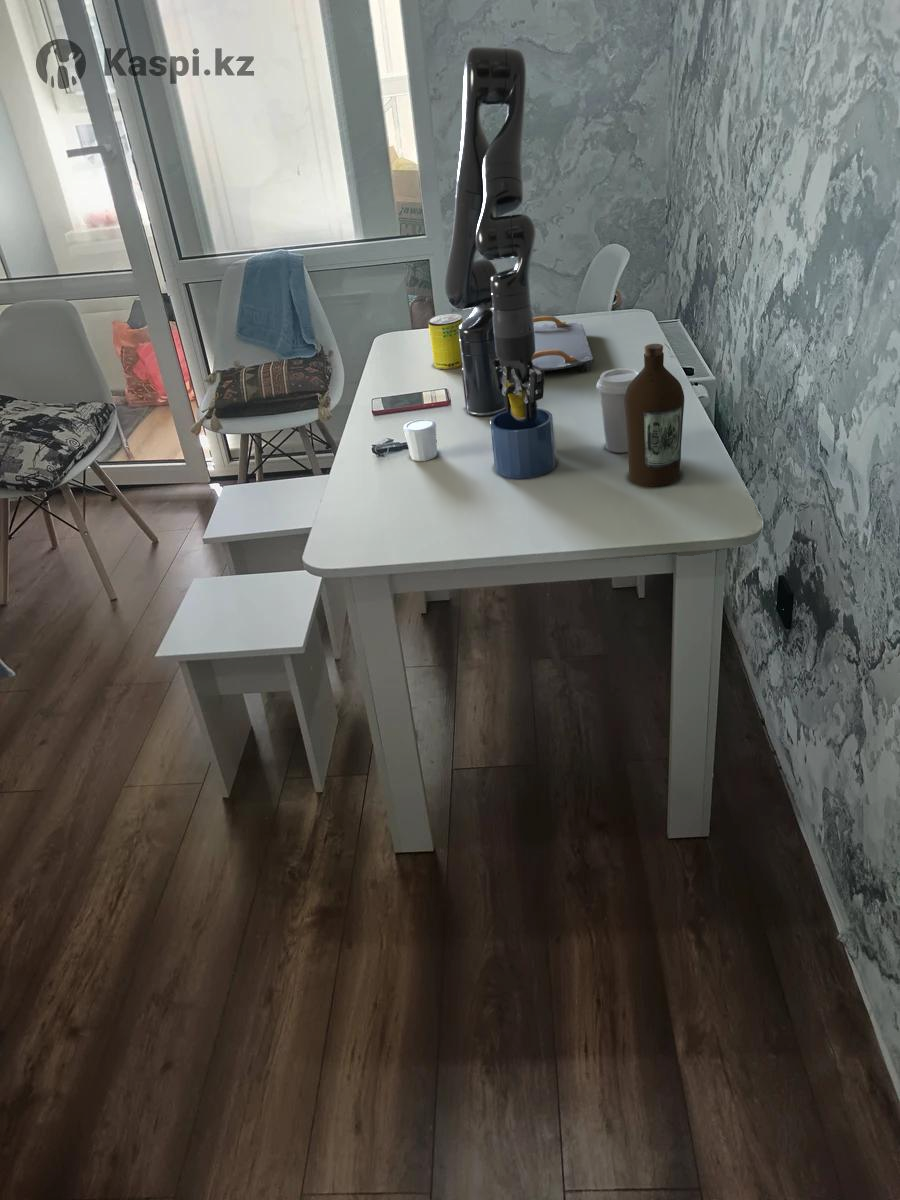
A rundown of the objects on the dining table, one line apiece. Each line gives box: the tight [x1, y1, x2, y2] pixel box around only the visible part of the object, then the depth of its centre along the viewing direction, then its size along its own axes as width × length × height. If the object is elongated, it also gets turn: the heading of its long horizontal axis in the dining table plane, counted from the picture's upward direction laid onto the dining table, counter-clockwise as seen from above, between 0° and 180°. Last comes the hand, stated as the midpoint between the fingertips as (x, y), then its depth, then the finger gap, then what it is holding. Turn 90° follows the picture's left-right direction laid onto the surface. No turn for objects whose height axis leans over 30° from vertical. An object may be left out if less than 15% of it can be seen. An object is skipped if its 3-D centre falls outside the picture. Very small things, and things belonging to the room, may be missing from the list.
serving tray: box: [532, 315, 594, 373], centre depth 240 cm, size 39×23×6 cm, turn 178°
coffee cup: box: [595, 367, 641, 454], centre depth 182 cm, size 10×10×15 cm
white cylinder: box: [403, 418, 438, 462], centre depth 193 cm, size 7×7×7 cm
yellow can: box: [427, 313, 463, 370], centre depth 243 cm, size 9×9×12 cm
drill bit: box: [508, 393, 538, 422], centre depth 176 cm, size 5×5×10 cm
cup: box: [489, 407, 556, 480], centre depth 181 cm, size 12×12×10 cm
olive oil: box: [624, 343, 685, 488], centre depth 166 cm, size 11×11×25 cm
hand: (521, 415), depth 178 cm, fingers closed on drill bit, 5 cm apart
